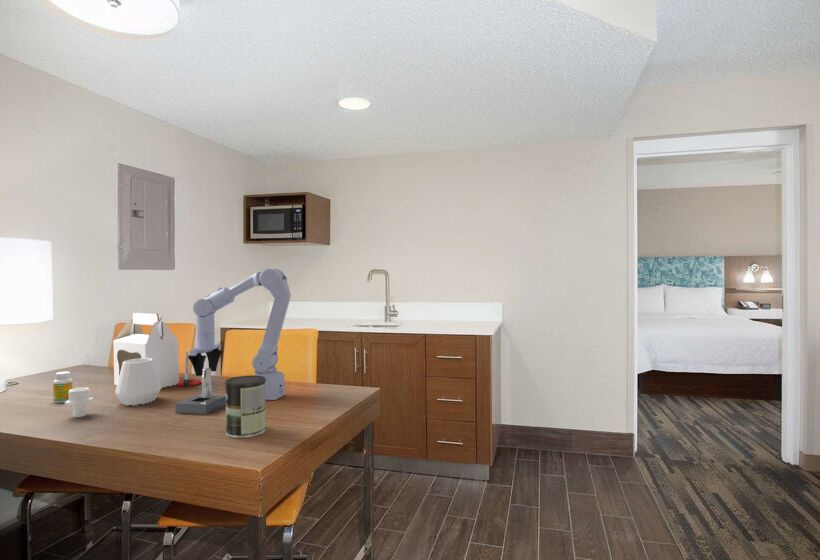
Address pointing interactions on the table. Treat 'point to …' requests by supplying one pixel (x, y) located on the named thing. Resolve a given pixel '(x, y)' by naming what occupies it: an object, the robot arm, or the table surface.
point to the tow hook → (188, 381)
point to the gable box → (148, 347)
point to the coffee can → (245, 406)
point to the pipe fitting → (79, 401)
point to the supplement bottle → (62, 387)
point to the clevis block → (200, 404)
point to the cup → (138, 382)
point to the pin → (206, 381)
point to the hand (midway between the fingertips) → (206, 373)
